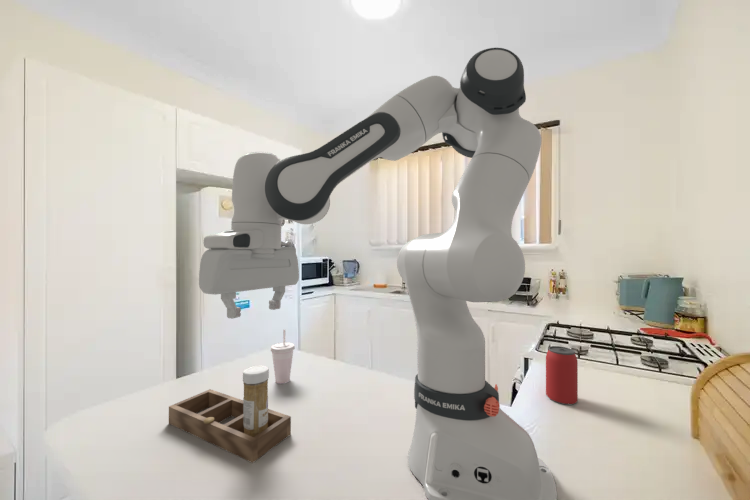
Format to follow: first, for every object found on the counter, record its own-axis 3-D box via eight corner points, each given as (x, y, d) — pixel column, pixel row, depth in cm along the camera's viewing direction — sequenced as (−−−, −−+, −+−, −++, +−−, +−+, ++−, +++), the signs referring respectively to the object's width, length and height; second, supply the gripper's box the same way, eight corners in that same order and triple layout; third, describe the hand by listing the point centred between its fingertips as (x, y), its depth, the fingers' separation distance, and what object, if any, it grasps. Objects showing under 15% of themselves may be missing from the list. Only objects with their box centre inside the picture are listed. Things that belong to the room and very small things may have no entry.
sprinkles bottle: (271, 442, 56) (271, 370, 56) (245, 451, 54) (245, 375, 54) (265, 430, 60) (265, 362, 60) (240, 438, 58) (240, 367, 58)
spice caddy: (290, 434, 59) (290, 414, 59) (250, 464, 51) (250, 441, 51) (209, 404, 71) (210, 387, 71) (166, 424, 62) (166, 405, 62)
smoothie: (299, 379, 84) (299, 329, 85) (281, 388, 79) (281, 334, 79) (283, 374, 88) (284, 326, 88) (265, 382, 82) (265, 330, 83)
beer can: (580, 398, 74) (580, 349, 74) (574, 409, 69) (574, 356, 69) (549, 390, 78) (549, 343, 78) (542, 399, 73) (542, 349, 73)
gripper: (284, 242, 68) (283, 303, 68) (193, 237, 50) (192, 321, 50) (306, 241, 65) (305, 306, 65) (218, 236, 47) (216, 326, 47)
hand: (255, 313), depth 57 cm, fingers open, 8 cm apart
